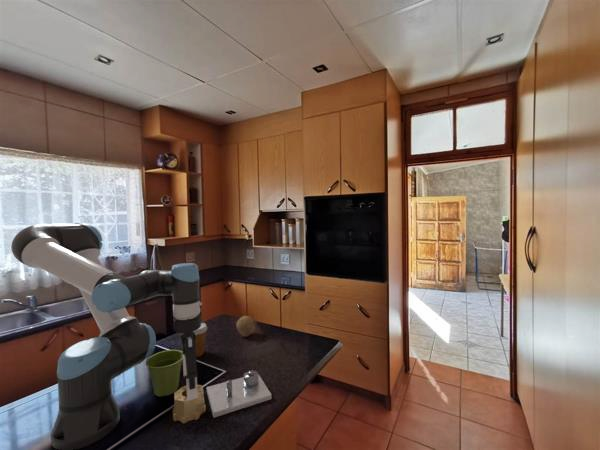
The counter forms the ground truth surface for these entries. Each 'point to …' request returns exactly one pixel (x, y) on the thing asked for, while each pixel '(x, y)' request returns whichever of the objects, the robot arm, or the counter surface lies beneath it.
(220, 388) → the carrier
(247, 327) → the natural sponge
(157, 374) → the plant pot
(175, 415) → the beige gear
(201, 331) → the disposable coffee cup
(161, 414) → the counter surface
